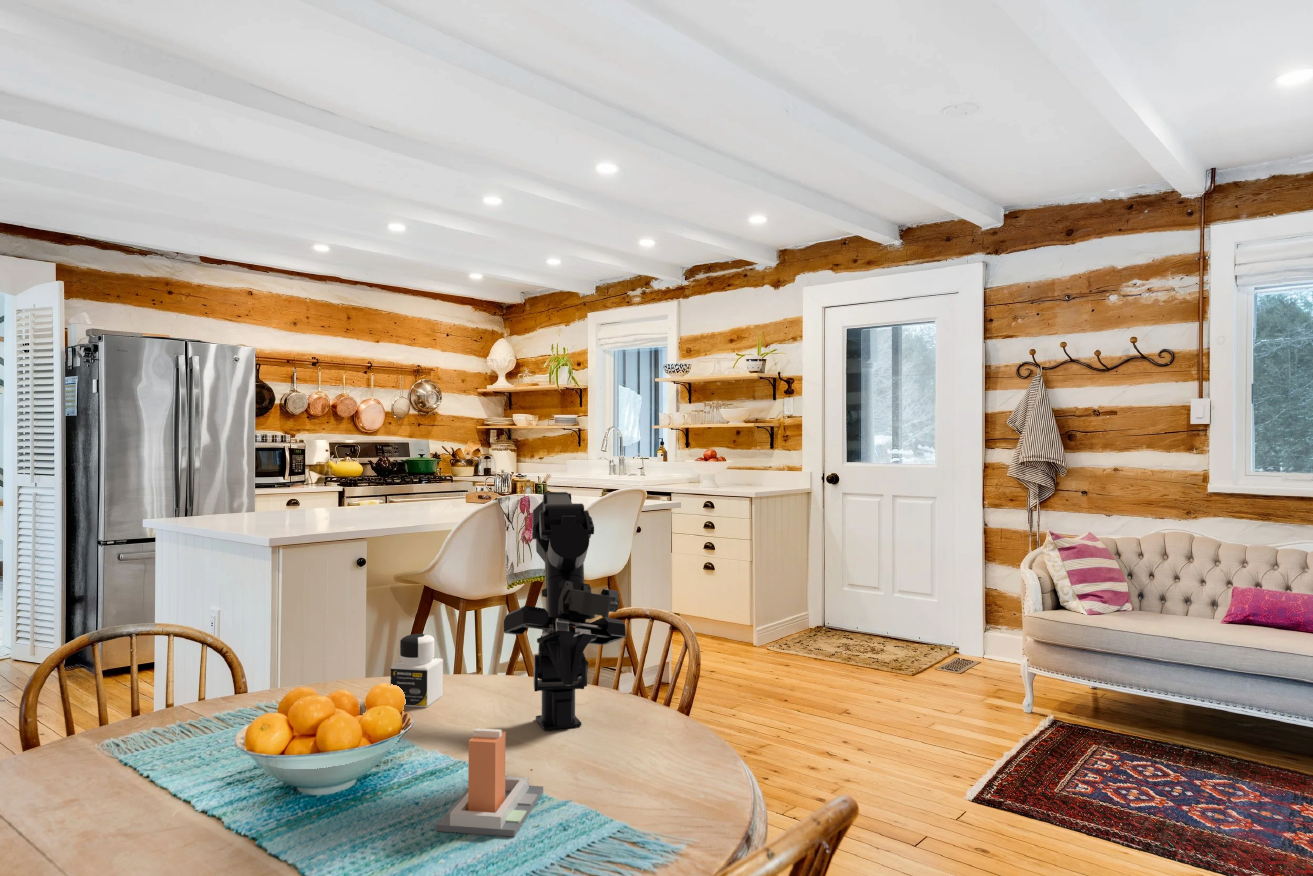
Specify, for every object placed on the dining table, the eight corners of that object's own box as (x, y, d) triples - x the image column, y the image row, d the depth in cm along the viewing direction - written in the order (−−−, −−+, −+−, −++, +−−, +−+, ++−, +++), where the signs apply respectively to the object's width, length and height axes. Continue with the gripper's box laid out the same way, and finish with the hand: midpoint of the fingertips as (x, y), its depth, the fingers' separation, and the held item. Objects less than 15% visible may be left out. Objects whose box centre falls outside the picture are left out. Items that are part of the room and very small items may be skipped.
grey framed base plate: (473, 787, 117) (473, 771, 117) (543, 792, 116) (543, 775, 116) (436, 831, 104) (436, 812, 104) (514, 836, 103) (514, 818, 103)
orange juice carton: (479, 802, 110) (479, 724, 110) (505, 804, 109) (505, 725, 109) (468, 816, 106) (468, 734, 106) (495, 818, 105) (495, 736, 105)
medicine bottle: (389, 706, 152) (390, 639, 152) (407, 694, 159) (408, 630, 159) (426, 708, 151) (427, 641, 151) (443, 696, 158) (443, 632, 158)
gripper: (545, 555, 118) (547, 669, 111) (646, 575, 129) (653, 679, 122) (502, 577, 125) (501, 685, 118) (601, 594, 136) (605, 693, 129)
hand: (568, 685), depth 122 cm, fingers closed
